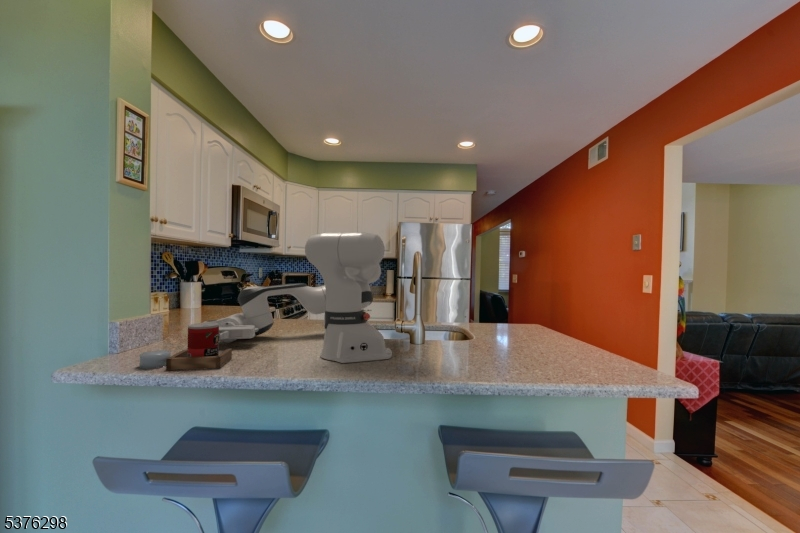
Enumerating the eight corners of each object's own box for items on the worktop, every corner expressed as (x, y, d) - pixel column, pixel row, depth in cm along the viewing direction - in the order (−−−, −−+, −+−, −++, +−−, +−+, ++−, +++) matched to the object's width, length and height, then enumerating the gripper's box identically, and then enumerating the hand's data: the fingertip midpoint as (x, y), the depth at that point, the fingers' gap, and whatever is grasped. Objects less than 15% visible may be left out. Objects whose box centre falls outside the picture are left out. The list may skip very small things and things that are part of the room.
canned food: (209, 366, 95) (209, 326, 95) (180, 366, 96) (181, 326, 96) (224, 359, 103) (224, 322, 103) (197, 359, 103) (198, 322, 103)
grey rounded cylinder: (174, 361, 100) (175, 349, 100) (162, 368, 93) (162, 355, 93) (148, 362, 99) (148, 350, 99) (133, 369, 92) (134, 356, 92)
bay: (231, 358, 104) (231, 348, 104) (220, 368, 94) (220, 357, 94) (183, 360, 102) (183, 350, 102) (166, 370, 92) (166, 358, 92)
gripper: (259, 337, 127) (250, 345, 113) (199, 339, 123) (182, 348, 109) (259, 320, 127) (250, 326, 113) (199, 321, 123) (182, 328, 109)
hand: (216, 337), depth 111 cm, fingers closed
